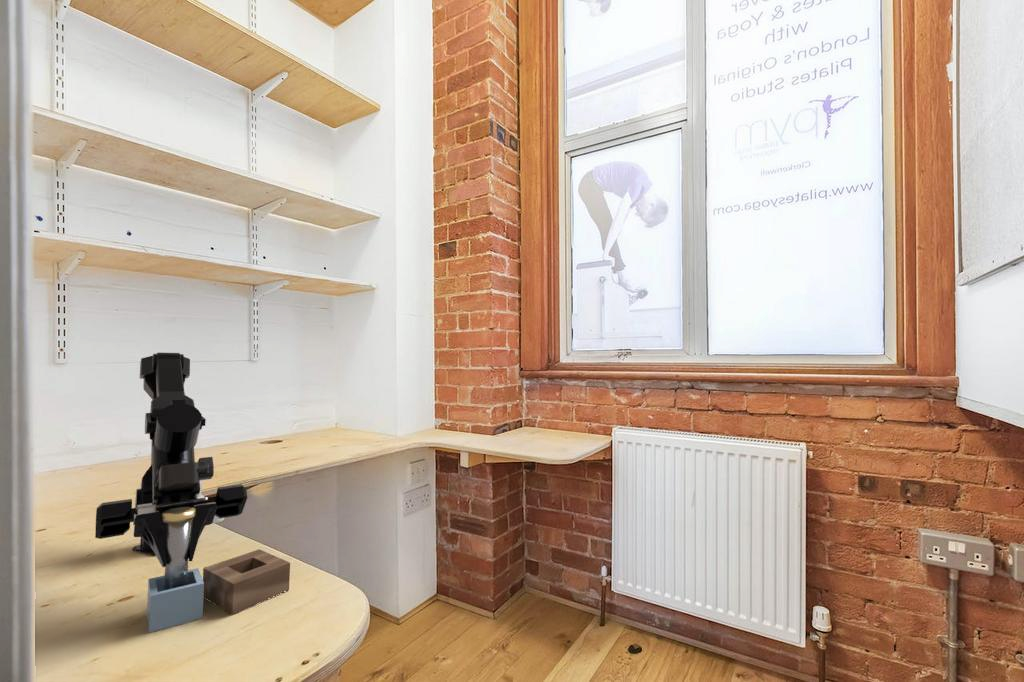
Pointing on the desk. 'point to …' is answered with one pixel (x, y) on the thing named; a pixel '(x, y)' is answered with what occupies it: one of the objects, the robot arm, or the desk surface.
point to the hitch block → (245, 580)
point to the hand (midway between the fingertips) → (177, 562)
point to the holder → (174, 602)
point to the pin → (177, 545)
